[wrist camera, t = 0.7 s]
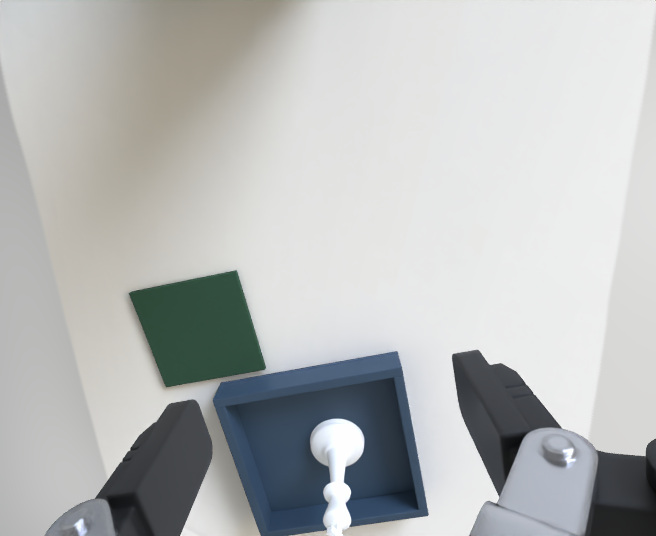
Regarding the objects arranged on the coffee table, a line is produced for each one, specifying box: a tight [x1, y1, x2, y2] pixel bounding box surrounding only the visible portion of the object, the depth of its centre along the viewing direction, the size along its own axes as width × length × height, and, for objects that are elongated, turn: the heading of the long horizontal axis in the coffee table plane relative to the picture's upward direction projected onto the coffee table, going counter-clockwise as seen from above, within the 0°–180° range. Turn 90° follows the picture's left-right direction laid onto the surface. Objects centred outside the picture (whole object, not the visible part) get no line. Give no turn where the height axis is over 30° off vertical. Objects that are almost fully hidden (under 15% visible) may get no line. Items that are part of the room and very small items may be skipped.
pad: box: [129, 271, 266, 387], centre depth 33 cm, size 9×9×1 cm
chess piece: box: [310, 419, 364, 536], centre depth 31 cm, size 5×5×10 cm
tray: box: [213, 352, 429, 536], centre depth 35 cm, size 16×16×2 cm
